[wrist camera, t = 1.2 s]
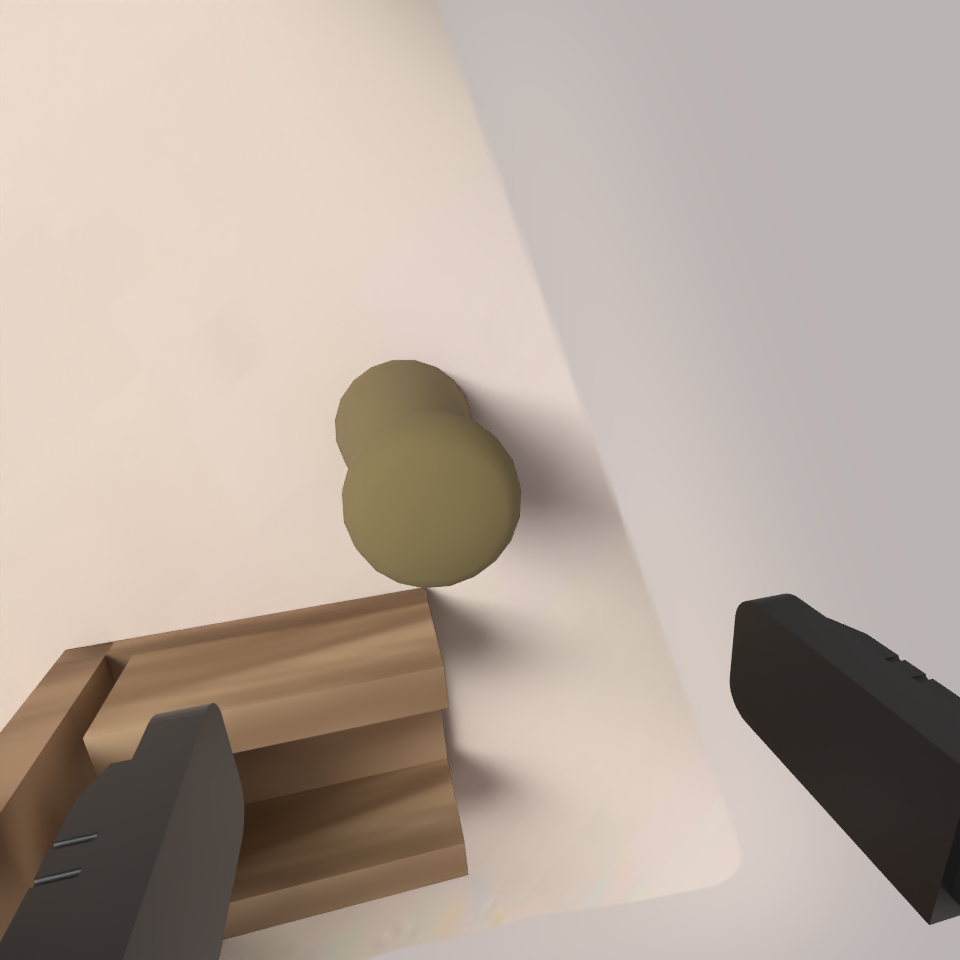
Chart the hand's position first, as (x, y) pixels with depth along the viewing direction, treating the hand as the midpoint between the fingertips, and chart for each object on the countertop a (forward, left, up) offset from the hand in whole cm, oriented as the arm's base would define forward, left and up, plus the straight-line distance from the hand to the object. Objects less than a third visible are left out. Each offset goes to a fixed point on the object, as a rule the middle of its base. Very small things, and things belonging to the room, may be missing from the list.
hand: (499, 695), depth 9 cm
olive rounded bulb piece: (0, 0, -18) cm, 18 cm away
